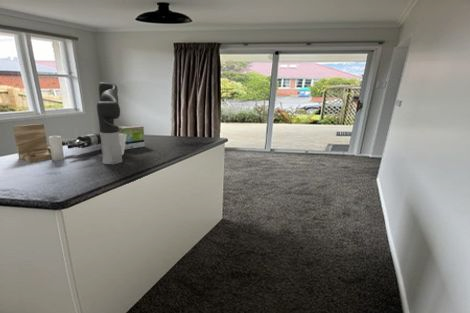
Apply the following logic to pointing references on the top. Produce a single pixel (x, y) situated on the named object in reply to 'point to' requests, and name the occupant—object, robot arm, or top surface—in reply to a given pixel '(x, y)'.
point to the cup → (122, 141)
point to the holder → (32, 142)
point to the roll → (56, 148)
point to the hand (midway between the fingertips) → (62, 145)
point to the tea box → (133, 136)
